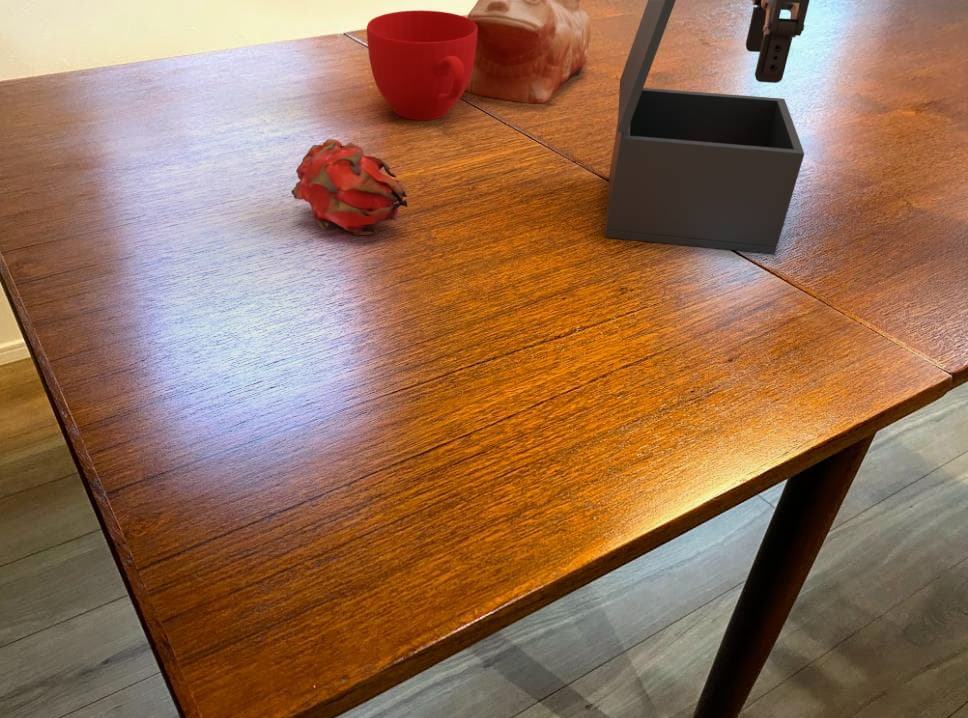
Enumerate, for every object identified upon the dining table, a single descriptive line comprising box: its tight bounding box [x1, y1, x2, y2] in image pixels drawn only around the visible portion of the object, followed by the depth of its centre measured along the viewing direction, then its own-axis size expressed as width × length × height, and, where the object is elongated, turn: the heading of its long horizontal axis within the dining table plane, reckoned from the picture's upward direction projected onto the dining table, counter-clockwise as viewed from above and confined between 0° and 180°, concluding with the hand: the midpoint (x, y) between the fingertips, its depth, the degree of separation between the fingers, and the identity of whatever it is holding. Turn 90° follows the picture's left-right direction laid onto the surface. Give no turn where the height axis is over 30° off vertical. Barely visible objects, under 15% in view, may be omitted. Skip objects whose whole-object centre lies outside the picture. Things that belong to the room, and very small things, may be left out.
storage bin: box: [605, 87, 805, 255], centre depth 85 cm, size 16×14×10 cm
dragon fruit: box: [290, 138, 409, 236], centre depth 83 cm, size 8×8×12 cm
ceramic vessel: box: [464, 0, 592, 105], centre depth 114 cm, size 14×26×15 cm, turn 155°
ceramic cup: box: [366, 9, 478, 121], centre depth 104 cm, size 13×17×10 cm
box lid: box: [617, 0, 677, 134], centre depth 77 cm, size 16×14×6 cm
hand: (761, 65), depth 79 cm, fingers open, 8 cm apart
